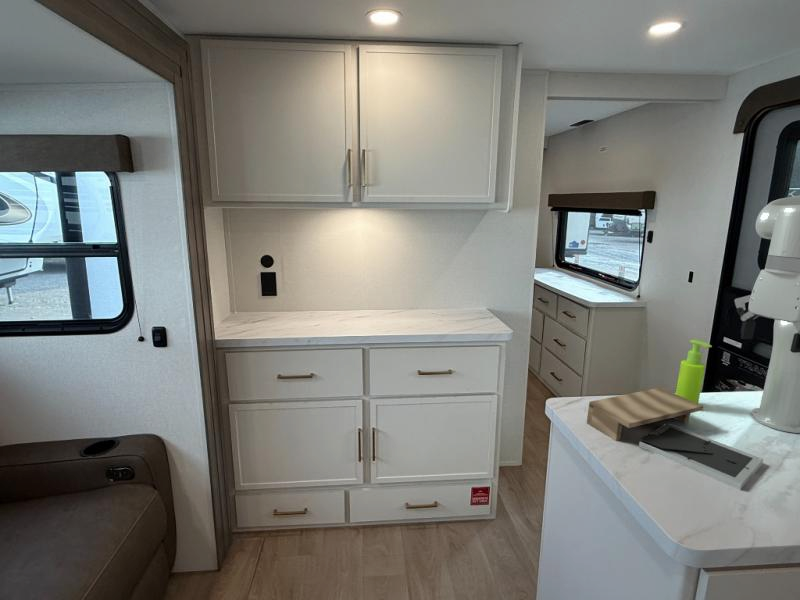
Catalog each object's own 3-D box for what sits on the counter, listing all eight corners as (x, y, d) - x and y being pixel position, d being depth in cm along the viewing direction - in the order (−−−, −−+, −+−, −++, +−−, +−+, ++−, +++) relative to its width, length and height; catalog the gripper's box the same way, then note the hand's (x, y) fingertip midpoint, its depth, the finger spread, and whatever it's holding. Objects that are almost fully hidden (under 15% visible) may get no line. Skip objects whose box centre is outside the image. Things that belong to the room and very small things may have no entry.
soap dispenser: (689, 412, 130) (701, 345, 125) (669, 401, 136) (680, 338, 131) (705, 410, 131) (718, 344, 127) (684, 399, 138) (696, 336, 133)
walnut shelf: (656, 407, 132) (660, 387, 131) (699, 427, 121) (703, 406, 120) (586, 423, 122) (589, 401, 120) (625, 446, 110) (629, 423, 109)
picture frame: (638, 448, 111) (739, 492, 95) (640, 438, 110) (742, 480, 94) (665, 430, 120) (761, 467, 105) (667, 420, 120) (764, 456, 104)
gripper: (851, 272, 88) (829, 356, 91) (755, 260, 103) (739, 333, 107) (829, 272, 85) (807, 359, 88) (733, 260, 101) (718, 334, 104)
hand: (770, 345), depth 98 cm, fingers open, 9 cm apart
